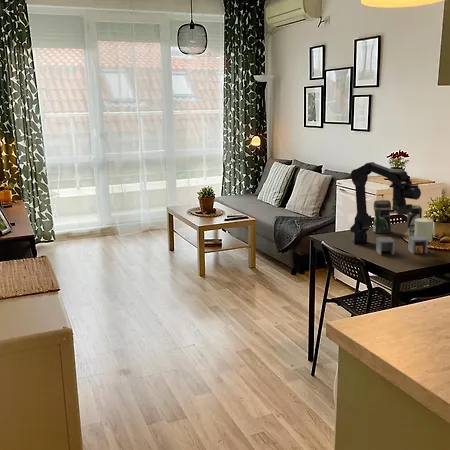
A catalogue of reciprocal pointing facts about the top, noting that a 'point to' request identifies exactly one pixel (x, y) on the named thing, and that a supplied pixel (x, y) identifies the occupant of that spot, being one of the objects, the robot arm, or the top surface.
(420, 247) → the letter cube
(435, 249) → the top surface
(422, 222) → the can
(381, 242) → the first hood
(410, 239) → the grey arch block
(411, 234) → the coffee box
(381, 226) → the coffee jar
